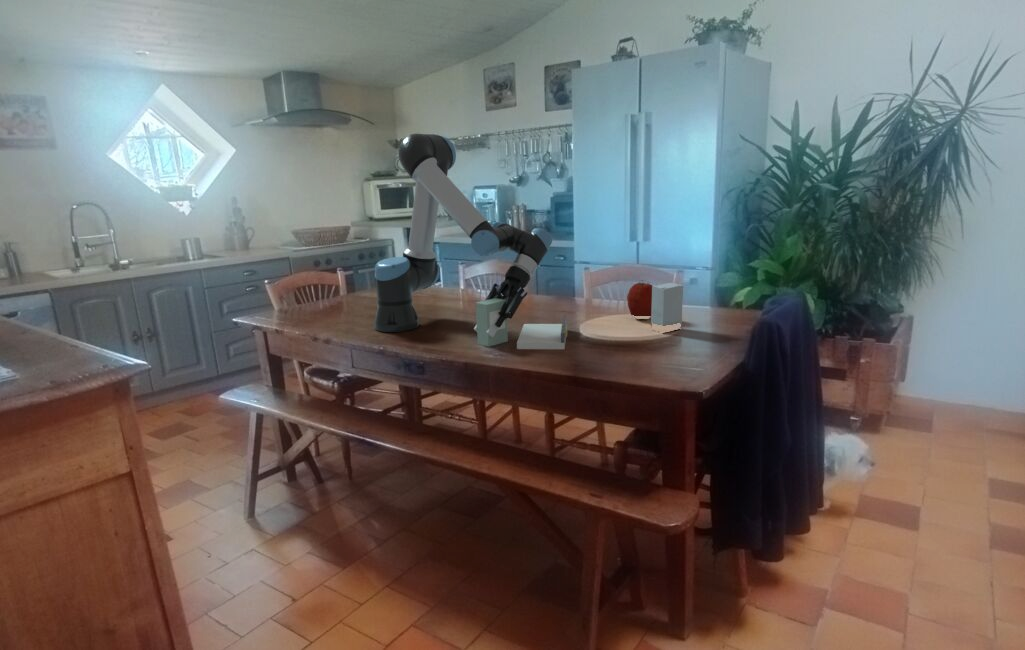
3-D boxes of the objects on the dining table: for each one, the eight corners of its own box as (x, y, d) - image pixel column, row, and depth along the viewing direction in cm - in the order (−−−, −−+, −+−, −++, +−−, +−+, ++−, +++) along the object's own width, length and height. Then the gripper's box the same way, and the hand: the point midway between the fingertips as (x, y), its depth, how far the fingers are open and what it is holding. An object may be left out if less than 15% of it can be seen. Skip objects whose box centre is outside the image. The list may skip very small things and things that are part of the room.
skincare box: (669, 326, 194) (670, 281, 191) (682, 330, 189) (684, 284, 186) (649, 330, 191) (650, 285, 187) (662, 334, 185) (664, 287, 182)
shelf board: (516, 349, 175) (516, 332, 174) (524, 329, 196) (523, 315, 195) (566, 349, 173) (566, 332, 172) (568, 329, 194) (568, 315, 193)
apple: (626, 322, 201) (626, 282, 198) (627, 315, 210) (628, 277, 207) (657, 323, 199) (658, 282, 195) (657, 316, 208) (658, 277, 204)
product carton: (477, 343, 182) (475, 302, 178) (497, 338, 187) (495, 298, 184) (488, 346, 178) (486, 304, 175) (508, 341, 183) (506, 300, 180)
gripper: (547, 282, 182) (510, 345, 175) (507, 276, 195) (471, 334, 188) (535, 267, 177) (496, 331, 170) (494, 262, 190) (457, 321, 183)
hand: (483, 332), depth 179 cm, fingers closed on product carton, 5 cm apart
